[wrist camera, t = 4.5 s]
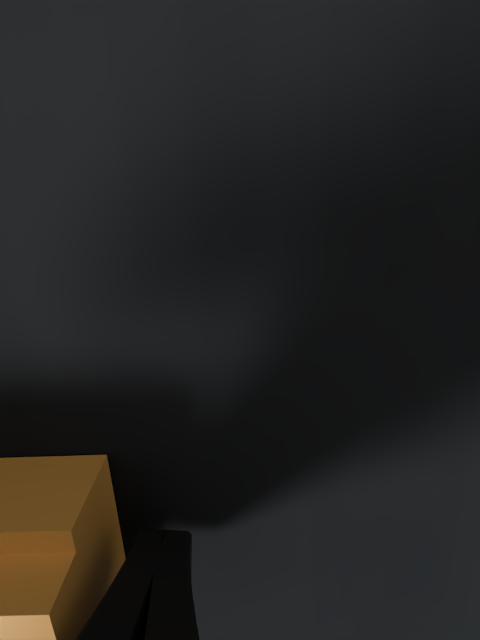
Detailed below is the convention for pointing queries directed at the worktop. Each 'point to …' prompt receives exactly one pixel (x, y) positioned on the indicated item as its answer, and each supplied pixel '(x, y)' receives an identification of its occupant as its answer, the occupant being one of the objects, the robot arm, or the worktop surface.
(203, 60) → the worktop surface
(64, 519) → the tan stepped block
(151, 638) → the robot arm
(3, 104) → the worktop surface
